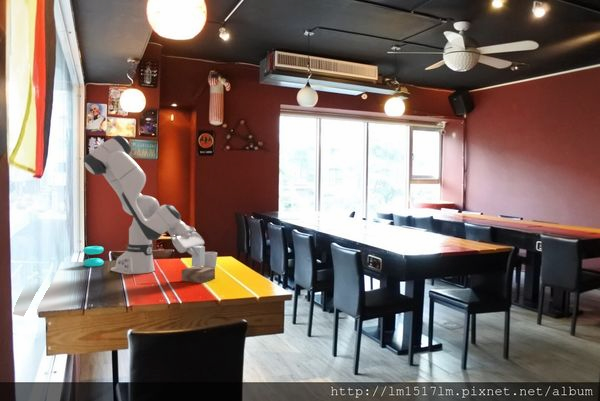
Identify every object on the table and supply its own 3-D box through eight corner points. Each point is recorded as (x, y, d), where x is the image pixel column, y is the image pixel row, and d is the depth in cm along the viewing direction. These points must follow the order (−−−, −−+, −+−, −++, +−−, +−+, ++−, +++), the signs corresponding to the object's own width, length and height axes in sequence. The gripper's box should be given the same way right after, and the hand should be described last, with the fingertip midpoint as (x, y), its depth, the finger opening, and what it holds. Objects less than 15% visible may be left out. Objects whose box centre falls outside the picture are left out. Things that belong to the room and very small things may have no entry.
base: (181, 280, 215) (181, 269, 215) (196, 276, 225) (196, 266, 225) (200, 283, 211) (201, 272, 210) (214, 278, 221) (214, 268, 220)
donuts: (87, 249, 239) (80, 246, 246) (87, 268, 239) (80, 265, 246) (106, 247, 246) (99, 245, 253) (106, 265, 246) (99, 263, 253)
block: (191, 266, 216) (191, 247, 215) (196, 264, 220) (196, 245, 220) (200, 266, 215) (200, 247, 214) (204, 265, 219) (204, 246, 218)
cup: (202, 270, 239) (202, 255, 239) (194, 267, 245) (194, 253, 245) (219, 267, 247) (220, 253, 246) (212, 265, 253) (212, 251, 252)
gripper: (173, 231, 208) (192, 254, 206) (195, 227, 228) (213, 248, 226) (165, 240, 210) (183, 263, 208) (187, 235, 229) (205, 256, 227)
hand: (199, 255), depth 217 cm, fingers closed on block, 4 cm apart
